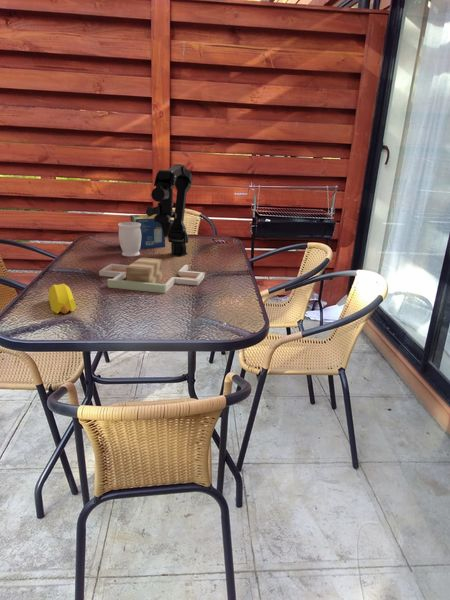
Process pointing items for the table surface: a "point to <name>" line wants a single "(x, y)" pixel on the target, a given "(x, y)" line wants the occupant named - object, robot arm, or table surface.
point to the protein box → (149, 231)
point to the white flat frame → (120, 274)
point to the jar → (130, 238)
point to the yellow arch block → (61, 299)
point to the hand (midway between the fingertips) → (165, 236)
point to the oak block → (145, 270)
